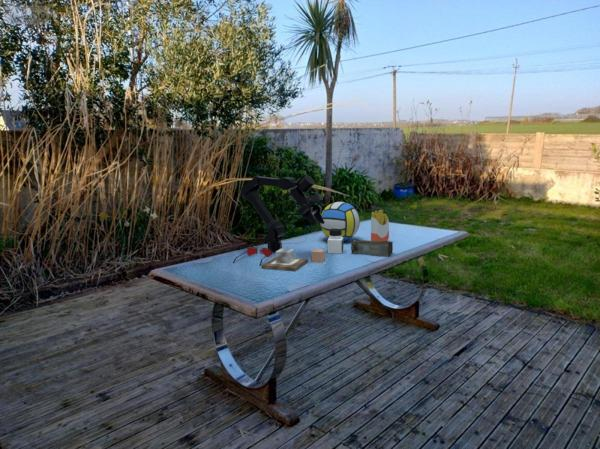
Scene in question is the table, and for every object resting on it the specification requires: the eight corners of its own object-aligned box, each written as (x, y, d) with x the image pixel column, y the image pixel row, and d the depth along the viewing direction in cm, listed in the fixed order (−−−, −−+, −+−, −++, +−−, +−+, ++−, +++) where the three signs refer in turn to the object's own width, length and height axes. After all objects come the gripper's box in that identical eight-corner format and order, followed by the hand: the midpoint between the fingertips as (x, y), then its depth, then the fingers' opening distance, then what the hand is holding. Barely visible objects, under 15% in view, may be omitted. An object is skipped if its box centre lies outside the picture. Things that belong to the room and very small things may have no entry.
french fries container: (389, 242, 233) (389, 210, 229) (377, 245, 225) (378, 212, 222) (382, 241, 236) (382, 209, 233) (370, 244, 228) (370, 211, 225)
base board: (261, 268, 187) (260, 253, 185) (276, 259, 201) (275, 245, 200) (295, 271, 181) (295, 255, 180) (308, 261, 196) (307, 247, 195)
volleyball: (365, 238, 243) (366, 200, 240) (348, 246, 225) (348, 205, 222) (332, 235, 255) (331, 199, 251) (313, 242, 237) (312, 203, 233)
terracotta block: (311, 262, 196) (311, 251, 195) (314, 259, 200) (314, 249, 199) (321, 262, 194) (321, 252, 193) (325, 260, 199) (324, 249, 198)
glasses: (273, 257, 207) (273, 247, 206) (260, 266, 191) (259, 255, 190) (247, 256, 211) (246, 246, 210) (232, 264, 196) (231, 254, 195)
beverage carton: (355, 250, 217) (355, 237, 216) (393, 253, 209) (393, 240, 208) (350, 254, 210) (350, 241, 208) (389, 257, 202) (389, 244, 200)
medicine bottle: (341, 254, 209) (341, 230, 207) (327, 253, 211) (327, 229, 209) (343, 250, 216) (343, 227, 214) (329, 250, 218) (329, 227, 216)
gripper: (305, 186, 192) (326, 212, 188) (319, 188, 209) (339, 212, 206) (288, 202, 196) (308, 228, 192) (303, 203, 213) (322, 227, 209)
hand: (320, 223), depth 199 cm, fingers open, 9 cm apart
